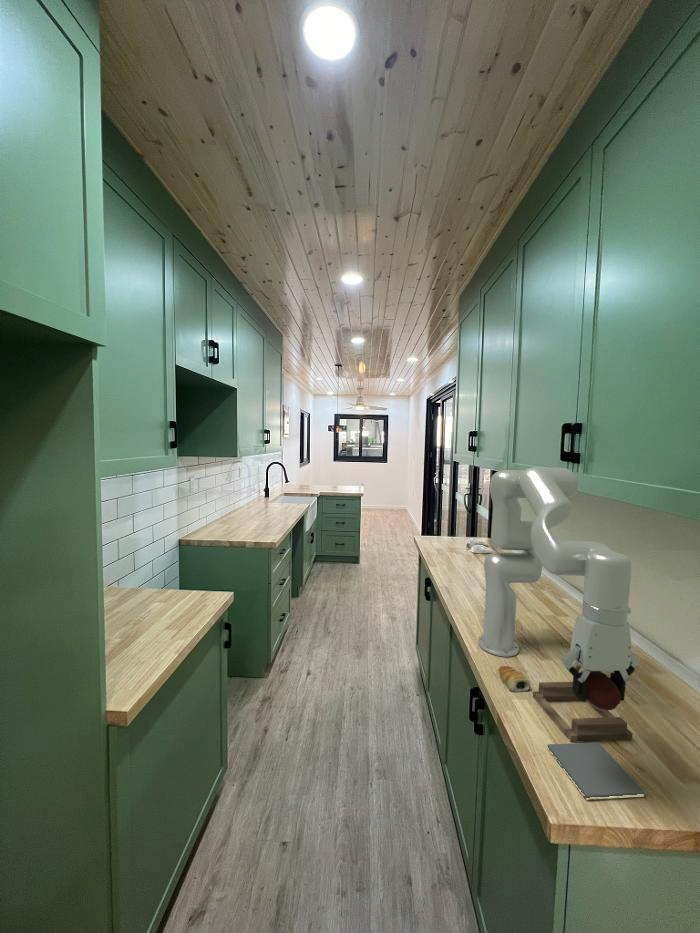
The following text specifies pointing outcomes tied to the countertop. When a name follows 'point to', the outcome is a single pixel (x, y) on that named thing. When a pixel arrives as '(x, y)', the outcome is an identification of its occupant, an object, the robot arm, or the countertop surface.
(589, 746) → the mat
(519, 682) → the pastry
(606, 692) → the potato
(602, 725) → the holder
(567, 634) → the countertop surface
